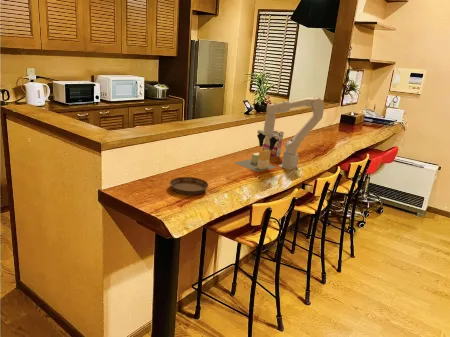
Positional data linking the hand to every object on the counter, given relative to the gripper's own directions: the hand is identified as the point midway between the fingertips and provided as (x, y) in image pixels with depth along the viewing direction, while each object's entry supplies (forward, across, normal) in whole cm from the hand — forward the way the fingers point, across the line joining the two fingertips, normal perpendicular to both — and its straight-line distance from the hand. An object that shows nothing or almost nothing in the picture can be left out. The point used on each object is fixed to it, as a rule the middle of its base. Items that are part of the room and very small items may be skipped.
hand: (266, 148), depth 217 cm
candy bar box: (+10, -11, +21) cm, 26 cm away
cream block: (+10, +5, -7) cm, 13 cm away
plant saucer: (+10, +8, -64) cm, 65 cm away
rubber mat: (+10, 0, -7) cm, 12 cm away
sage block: (+10, -4, -2) cm, 10 cm away
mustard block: (+4, +5, -7) cm, 10 cm away
